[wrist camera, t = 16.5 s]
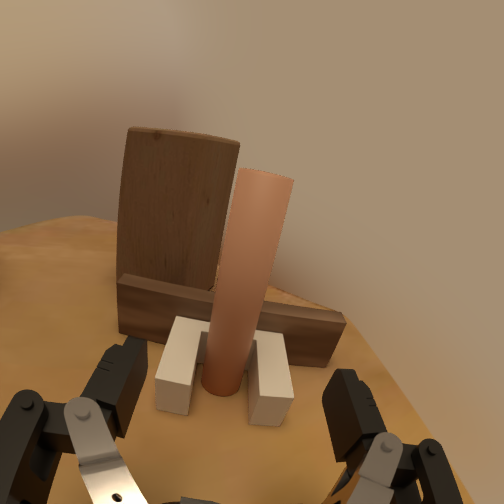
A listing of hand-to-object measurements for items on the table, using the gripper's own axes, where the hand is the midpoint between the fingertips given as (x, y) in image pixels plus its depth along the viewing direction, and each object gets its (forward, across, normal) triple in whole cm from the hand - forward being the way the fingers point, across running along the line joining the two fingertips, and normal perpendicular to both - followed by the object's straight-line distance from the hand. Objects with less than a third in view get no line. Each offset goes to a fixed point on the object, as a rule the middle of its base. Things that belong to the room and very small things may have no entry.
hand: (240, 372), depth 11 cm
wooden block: (+24, +9, +11) cm, 28 cm away
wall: (+14, 0, +11) cm, 18 cm away
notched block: (+9, 0, +11) cm, 14 cm away
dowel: (+9, 0, +11) cm, 14 cm away
